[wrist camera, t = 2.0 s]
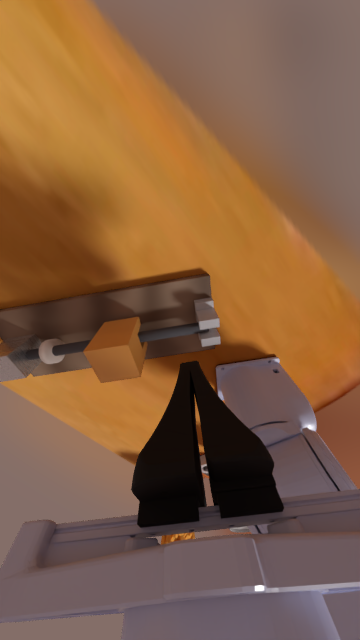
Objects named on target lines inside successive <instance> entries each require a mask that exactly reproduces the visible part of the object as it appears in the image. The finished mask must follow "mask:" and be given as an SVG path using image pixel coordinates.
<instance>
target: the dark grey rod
mask: <svg viewBox="0 0 360 640" xmlns="http://www.w3.org/2000/svg"><path fill="white" fill-rule="evenodd" d="M203 332H209V329H203V330H200V328H199V324H198V322H197V323H191V324H185V325H179V326H173V327H166V328H160V329H154V330H148V331H142V332H138V337H139V340H140V342H147V341H153V340H159V339H166V338H172V337H178V336H184V335H191V334H197V333H203ZM90 341H91V340H86V341H80V342H74V343H68V344H63V342H62V341H61V340H59V339H49V340H45V341H44V342H42V344H41V345H40V347H39V348H37V349H31V350H28V351H27V352H26V358H27V359H28V360H34V359H41V360H42V361H43V362H44V363H46V364H53V363H59V362H60V361H62V360H63V358H64V356H65V354H72V353H78V352H83V351H84V350H85V348H86V347H87V346H88V344H89V343H90Z"/></svg>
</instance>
